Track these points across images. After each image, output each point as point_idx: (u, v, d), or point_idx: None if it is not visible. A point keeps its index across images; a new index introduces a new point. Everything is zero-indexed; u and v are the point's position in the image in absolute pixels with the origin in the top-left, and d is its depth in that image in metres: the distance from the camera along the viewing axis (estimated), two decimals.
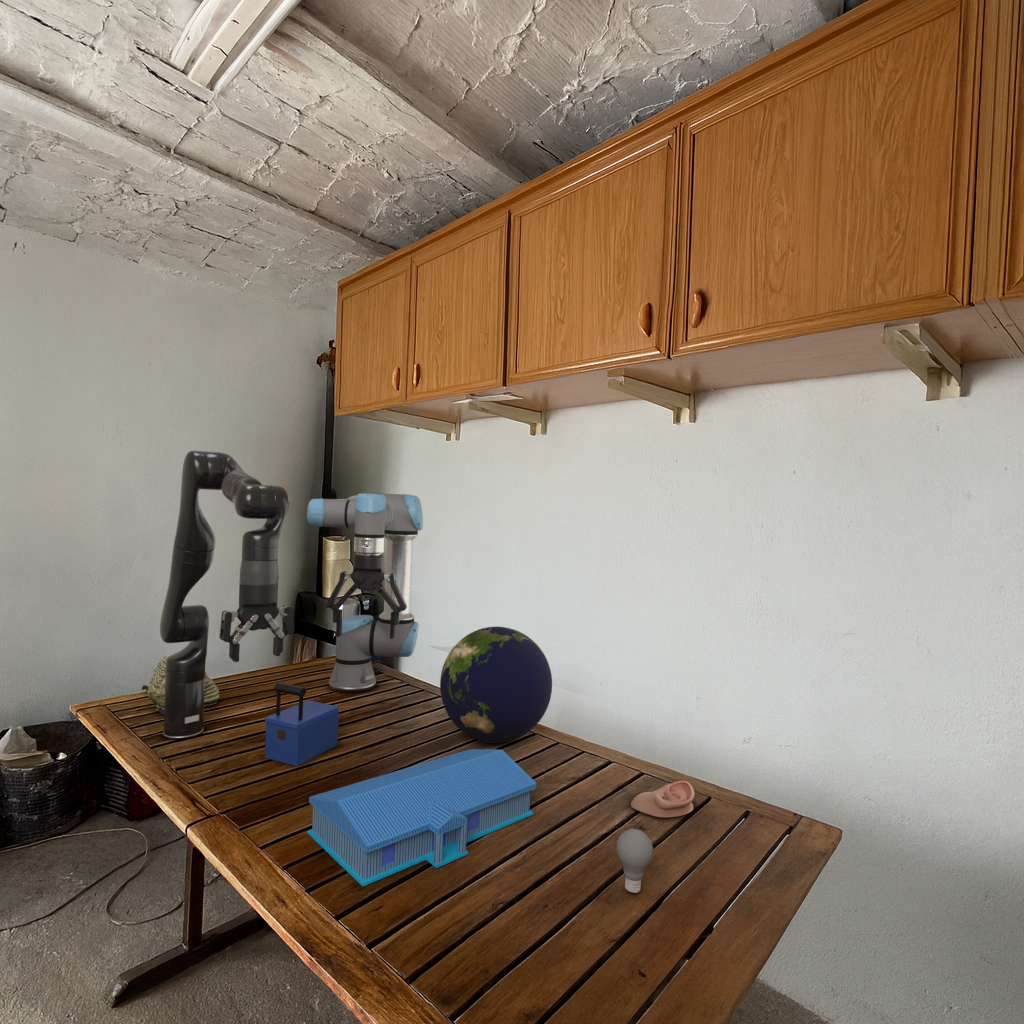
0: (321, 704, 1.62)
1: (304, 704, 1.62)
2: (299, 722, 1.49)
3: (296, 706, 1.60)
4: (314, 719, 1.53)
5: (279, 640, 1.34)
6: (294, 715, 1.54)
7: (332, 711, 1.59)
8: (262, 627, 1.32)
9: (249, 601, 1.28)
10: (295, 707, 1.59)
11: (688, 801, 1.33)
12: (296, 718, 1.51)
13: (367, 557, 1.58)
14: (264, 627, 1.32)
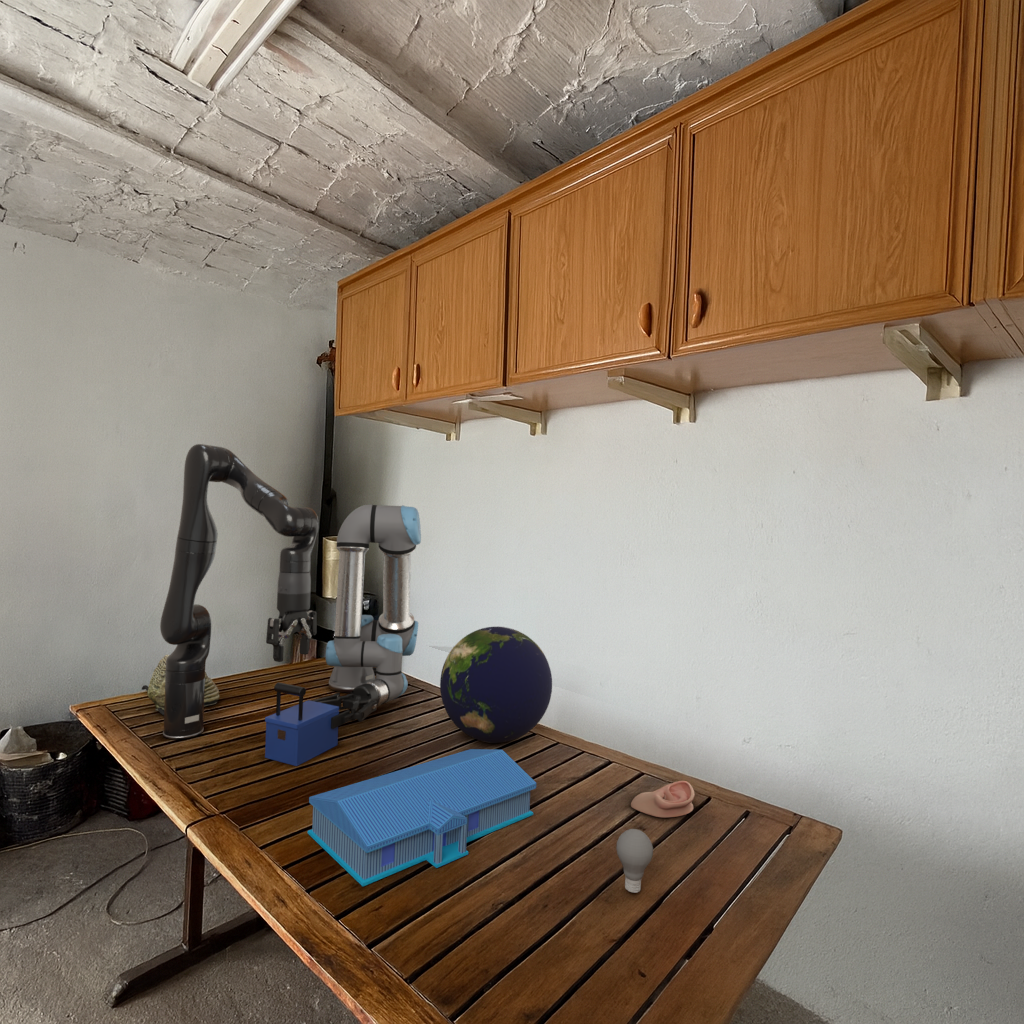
0: (321, 704, 1.62)
1: (304, 704, 1.62)
2: (299, 722, 1.49)
3: (296, 706, 1.60)
4: (314, 719, 1.53)
5: None
6: (294, 715, 1.54)
7: (332, 711, 1.59)
8: None
9: None
10: (295, 707, 1.59)
11: (688, 801, 1.33)
12: (296, 718, 1.51)
13: None
14: None
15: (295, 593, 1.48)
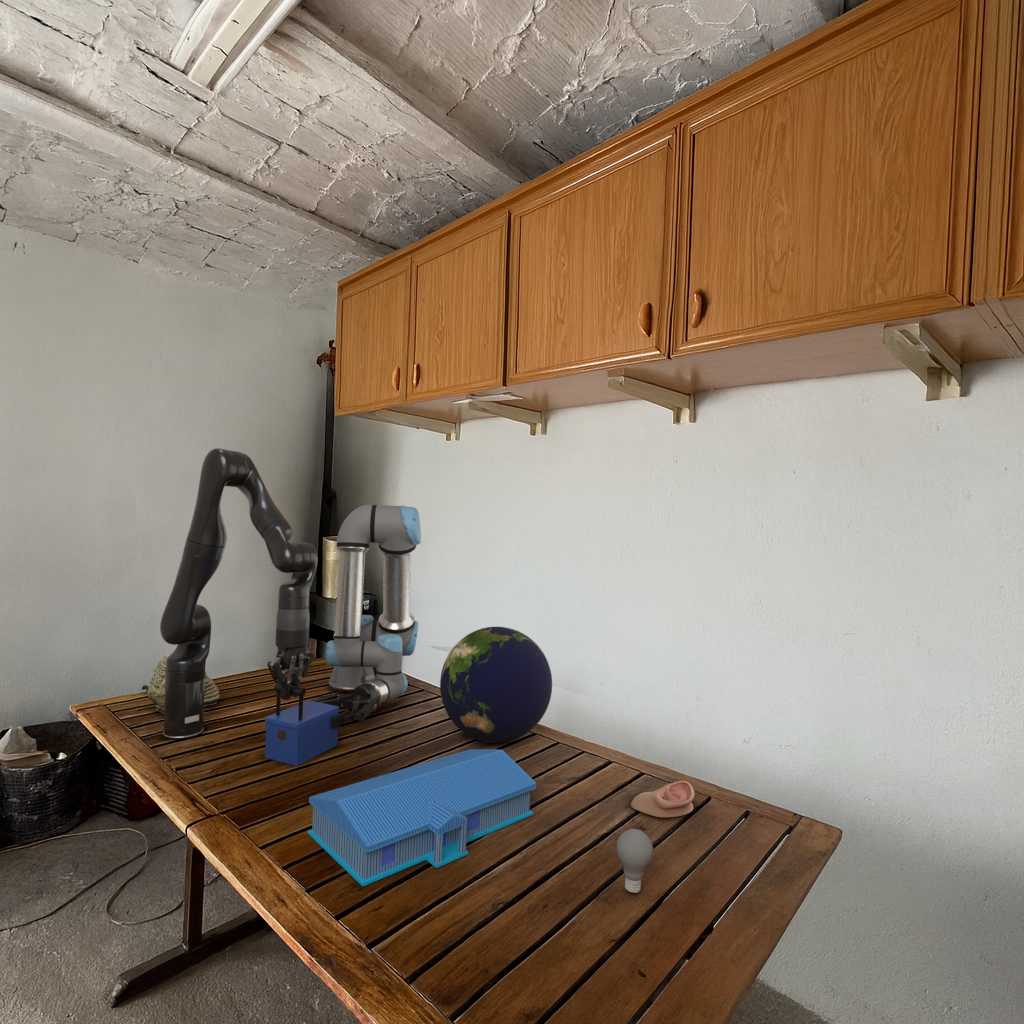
0: (321, 704, 1.62)
1: (304, 704, 1.62)
2: (299, 722, 1.49)
3: (296, 706, 1.60)
4: (314, 719, 1.53)
5: None
6: (294, 715, 1.54)
7: (332, 711, 1.59)
8: None
9: None
10: (295, 707, 1.59)
11: (688, 801, 1.33)
12: (296, 718, 1.51)
13: None
14: None
15: (294, 629, 1.48)
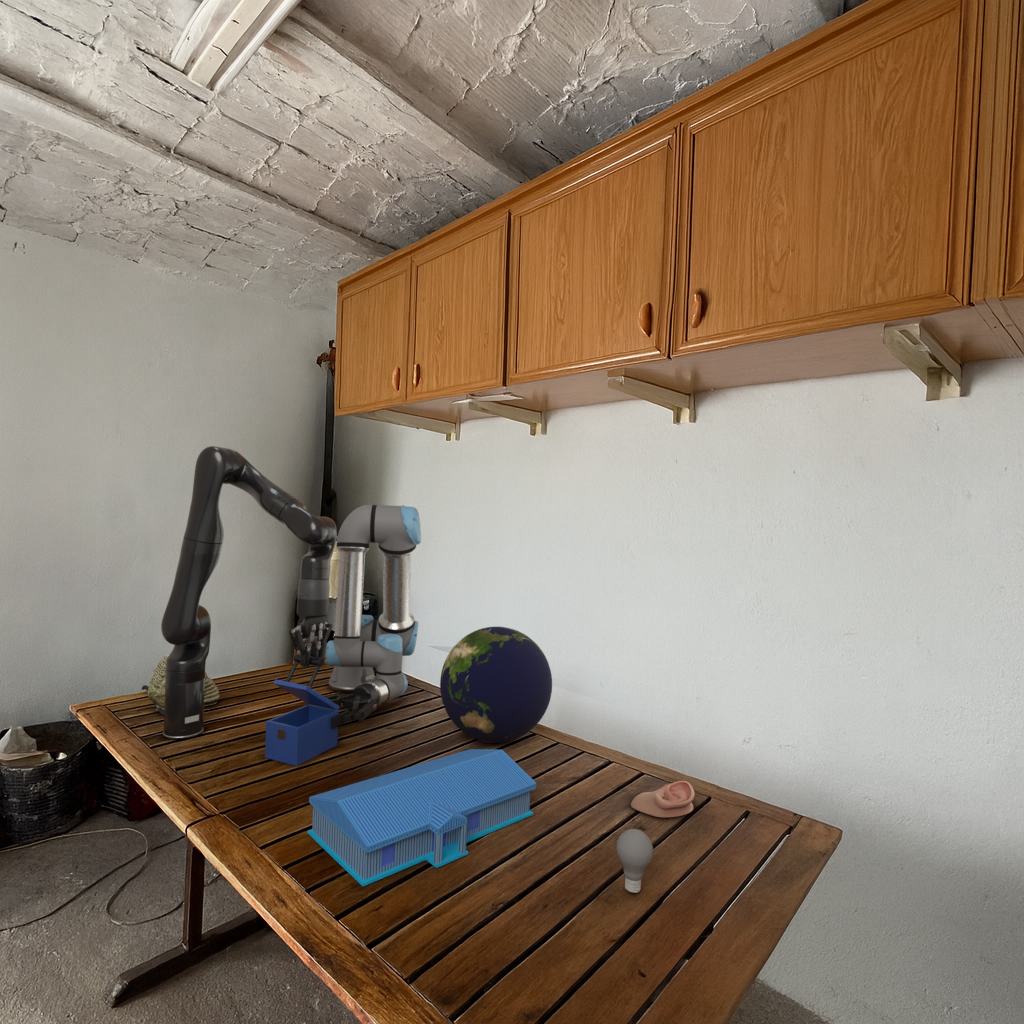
0: None
1: None
2: None
3: None
4: (319, 696, 1.54)
5: None
6: None
7: (333, 705, 1.59)
8: None
9: None
10: None
11: (688, 801, 1.33)
12: None
13: None
14: None
15: (315, 599, 1.54)
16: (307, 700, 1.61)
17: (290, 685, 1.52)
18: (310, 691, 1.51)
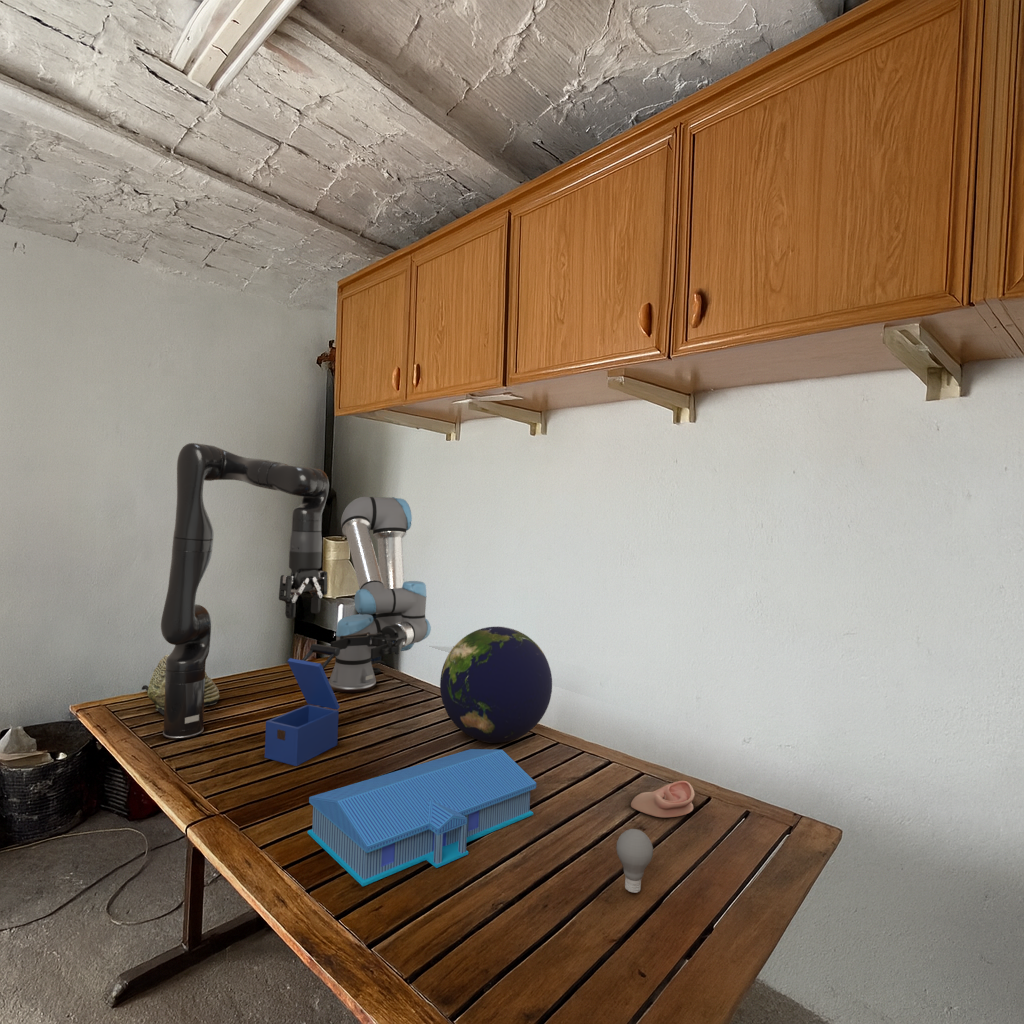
0: None
1: None
2: None
3: None
4: (327, 682, 1.57)
5: None
6: None
7: (335, 701, 1.60)
8: None
9: None
10: None
11: (688, 801, 1.33)
12: None
13: None
14: None
15: (307, 551, 1.51)
16: (310, 694, 1.62)
17: (304, 663, 1.56)
18: (322, 671, 1.55)
